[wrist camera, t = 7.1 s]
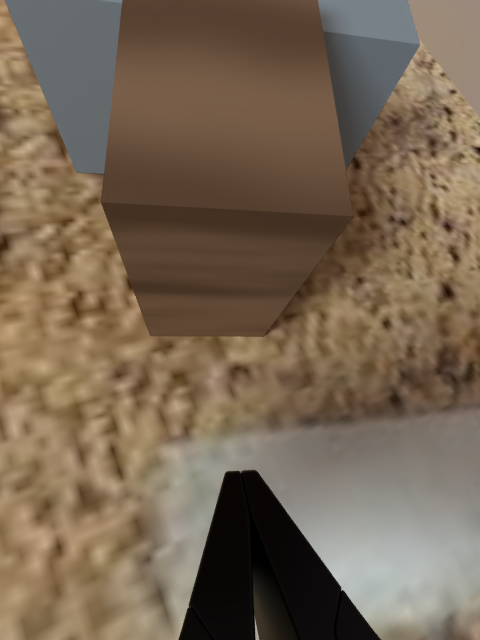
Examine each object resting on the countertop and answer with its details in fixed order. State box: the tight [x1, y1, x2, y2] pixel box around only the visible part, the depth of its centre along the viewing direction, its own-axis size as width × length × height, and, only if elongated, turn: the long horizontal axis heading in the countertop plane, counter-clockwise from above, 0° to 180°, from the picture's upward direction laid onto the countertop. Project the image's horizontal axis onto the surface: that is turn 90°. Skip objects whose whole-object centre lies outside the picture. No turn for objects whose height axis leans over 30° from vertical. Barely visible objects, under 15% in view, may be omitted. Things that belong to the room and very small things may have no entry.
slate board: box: [5, 0, 420, 174], centre depth 18 cm, size 3×16×9 cm, turn 92°
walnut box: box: [101, 0, 353, 337], centre depth 15 cm, size 10×6×11 cm, turn 2°
